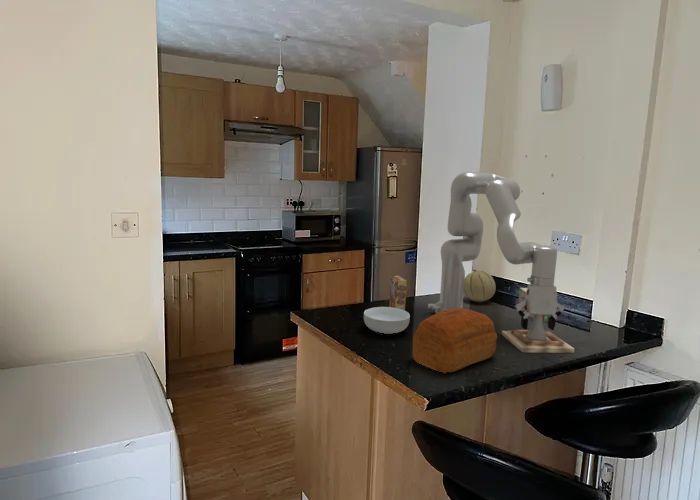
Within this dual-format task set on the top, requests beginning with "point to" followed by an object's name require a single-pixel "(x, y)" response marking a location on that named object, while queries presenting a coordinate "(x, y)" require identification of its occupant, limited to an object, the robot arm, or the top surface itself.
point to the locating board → (537, 342)
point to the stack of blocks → (522, 298)
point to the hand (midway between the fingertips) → (537, 328)
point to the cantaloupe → (479, 286)
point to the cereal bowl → (386, 319)
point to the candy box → (398, 292)
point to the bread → (454, 340)
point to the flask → (537, 330)
